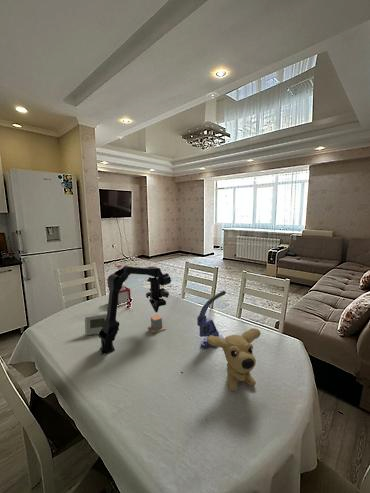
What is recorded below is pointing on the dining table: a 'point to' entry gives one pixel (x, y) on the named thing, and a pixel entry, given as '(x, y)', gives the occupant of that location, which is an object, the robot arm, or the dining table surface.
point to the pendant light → (123, 292)
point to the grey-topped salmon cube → (156, 322)
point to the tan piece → (156, 330)
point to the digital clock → (94, 323)
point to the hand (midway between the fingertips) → (156, 311)
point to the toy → (238, 356)
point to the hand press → (208, 323)
